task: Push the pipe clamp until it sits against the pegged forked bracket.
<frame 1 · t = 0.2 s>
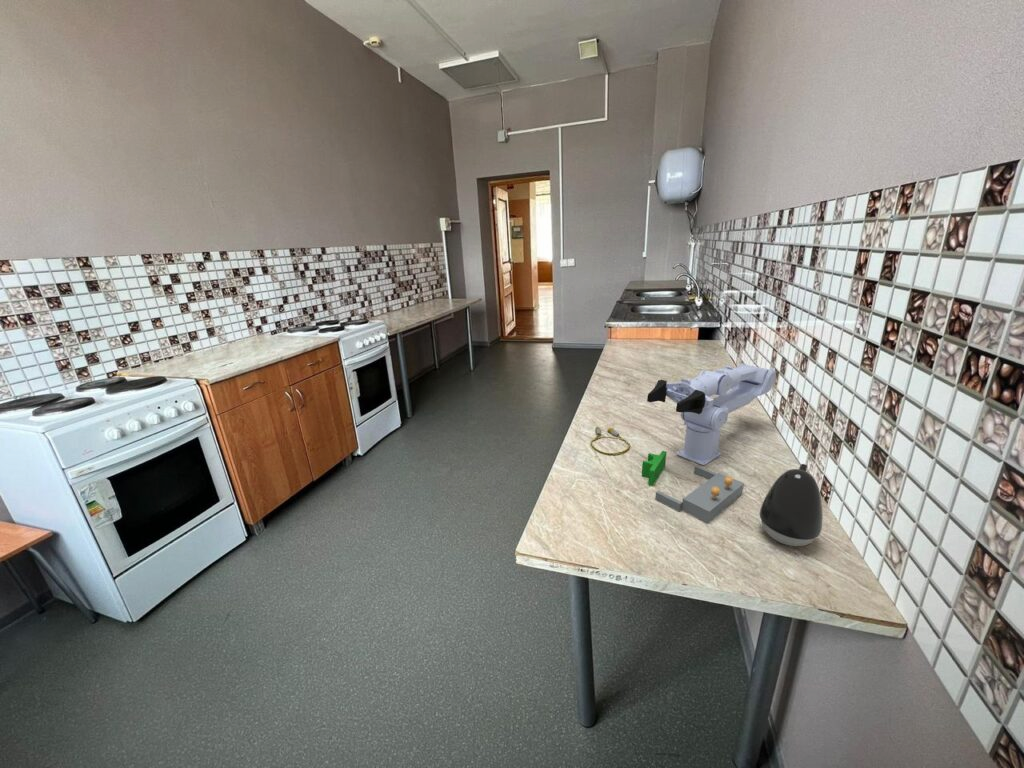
hand: (662, 402, 95), 21 cm above the countertop, tool horizontal, fingers open, 7 cm apart
pipe clamp: (652, 474, 105), on the countertop
extension cord: (610, 444, 122), on the countertop
pegged forked bracket: (712, 501, 93), on the countertop
black rounded dome: (785, 537, 82), on the countertop
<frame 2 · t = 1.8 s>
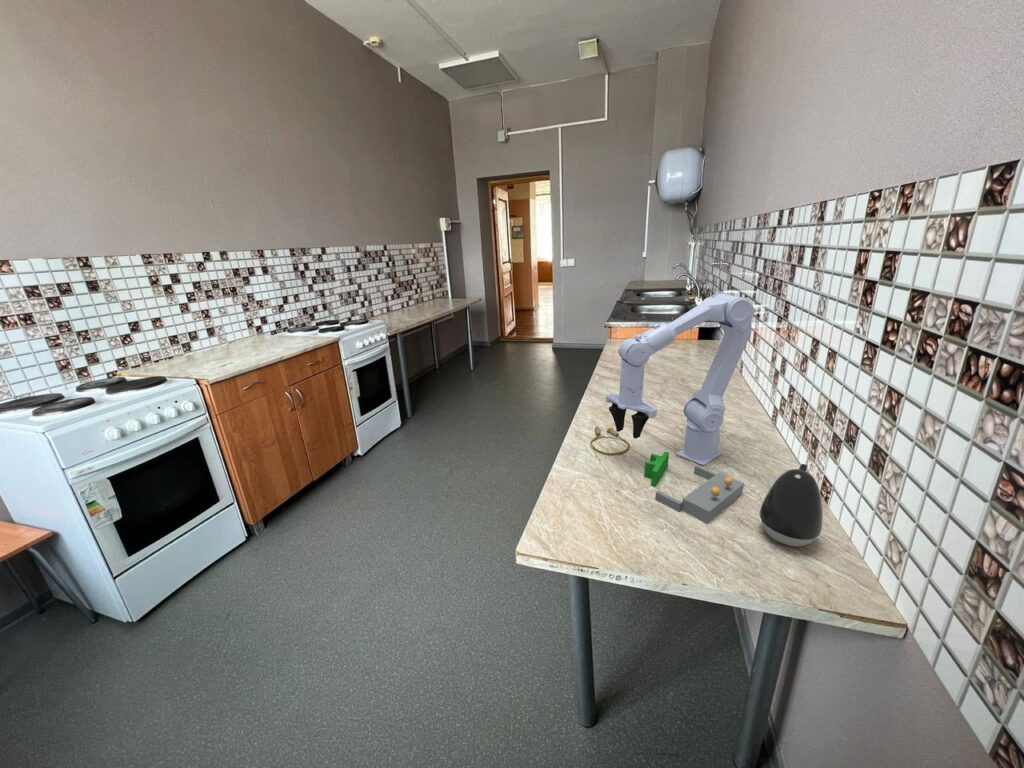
hand: (628, 433, 108), 8 cm above the countertop, tool pointing down, fingers open, 5 cm apart
nothing on the countertop moved.
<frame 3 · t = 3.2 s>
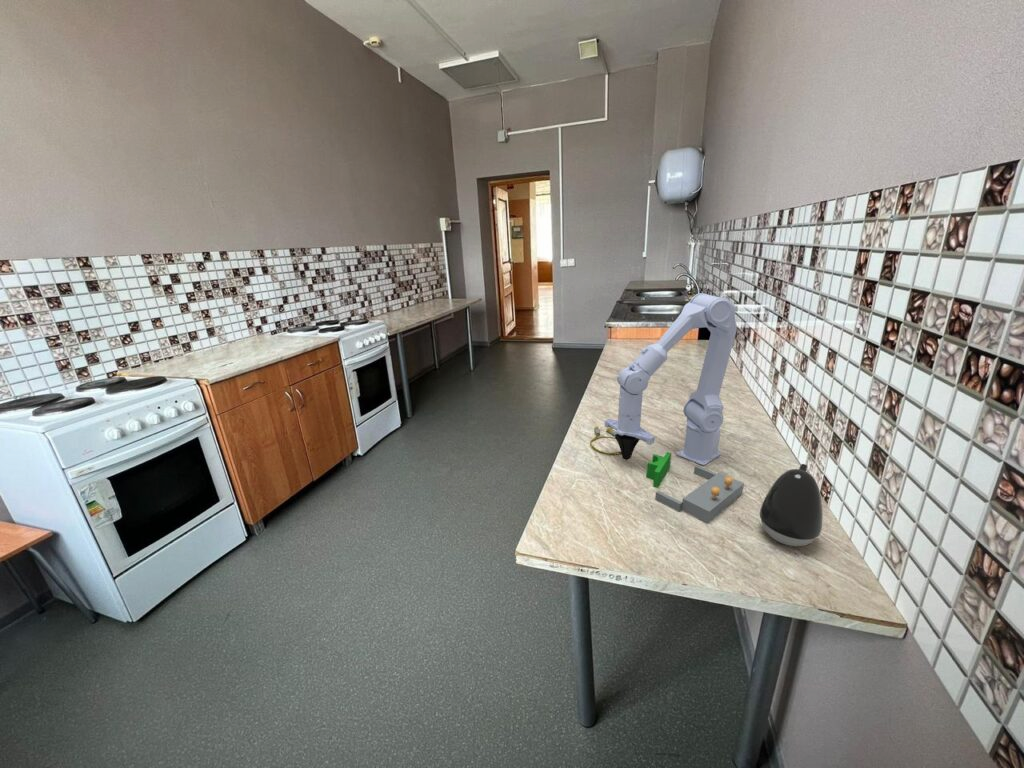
hand: (626, 458, 111), 1 cm above the countertop, tool pointing down, fingers closed
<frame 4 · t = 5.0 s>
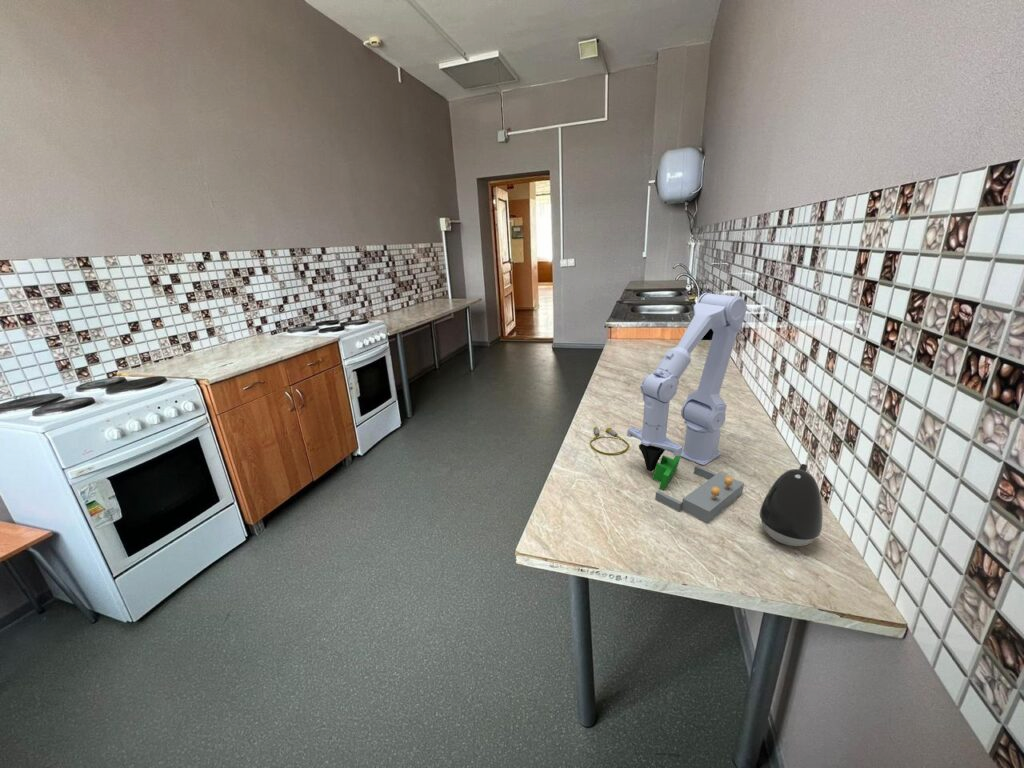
hand: (650, 469, 105), 1 cm above the countertop, tool pointing down, fingers closed
pipe clamp: (663, 477, 103), on the countertop
everything else where it was.
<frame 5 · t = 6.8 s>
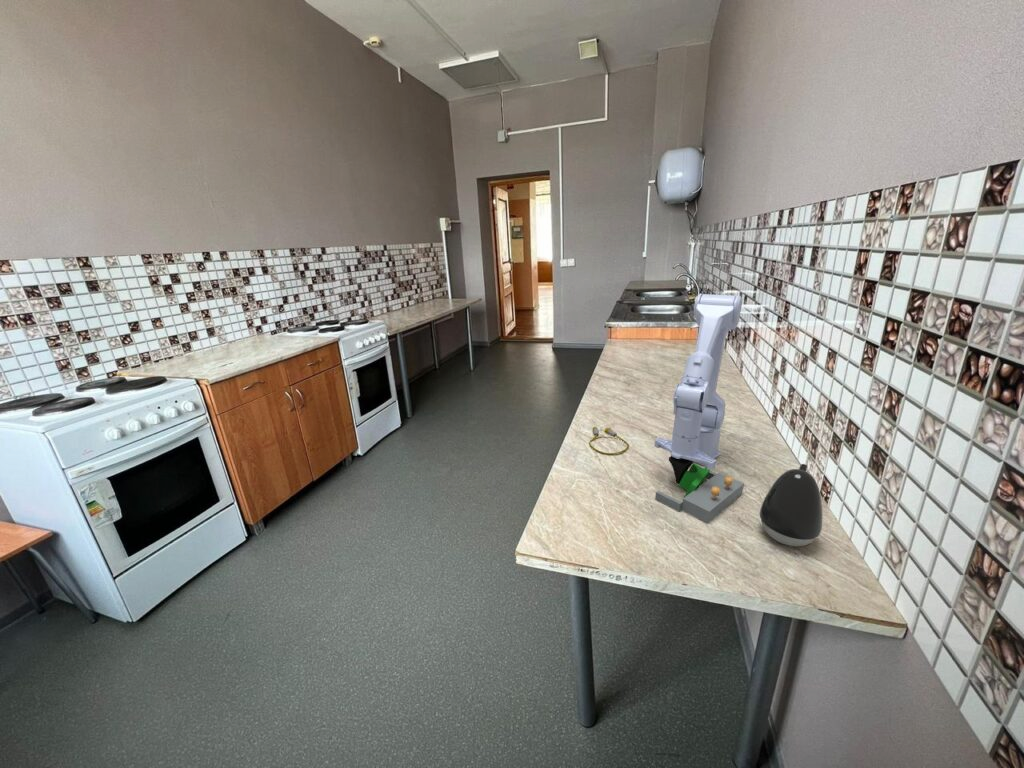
hand: (679, 482, 99), 1 cm above the countertop, tool pointing down, fingers closed, pressing on pipe clamp
pipe clamp: (689, 485, 99), on the countertop, touching gripper, pegged forked bracket
everything else where it was.
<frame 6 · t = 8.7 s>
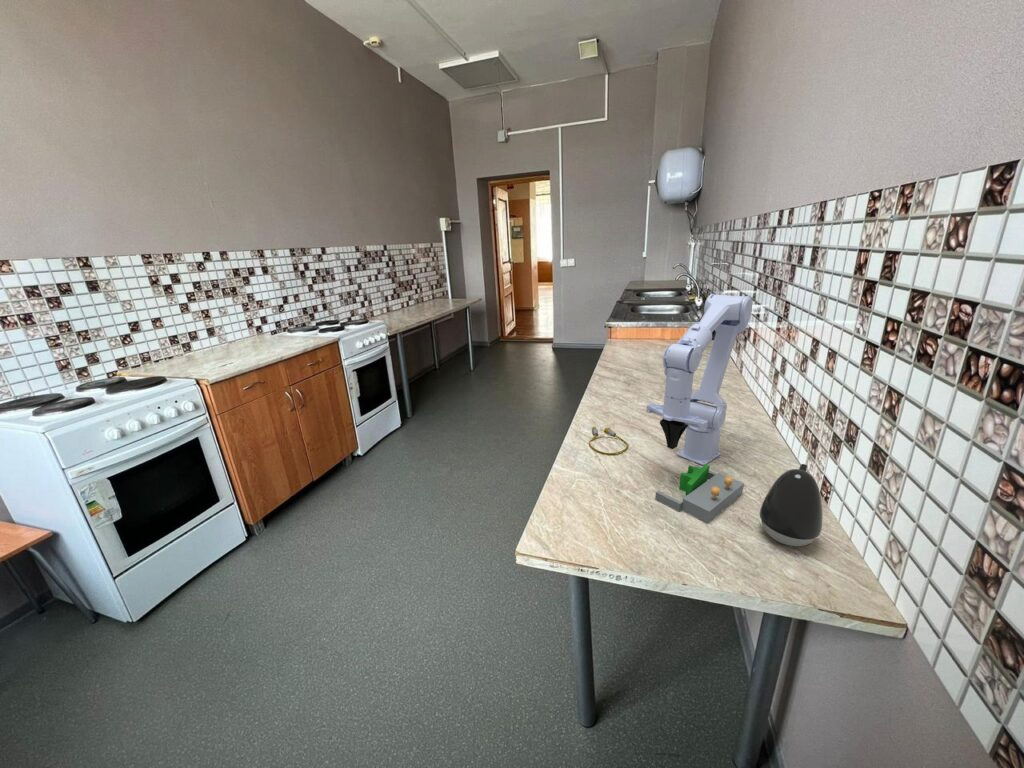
hand: (672, 447, 99), 9 cm above the countertop, tool pointing down, fingers closed
pipe clamp: (691, 488, 99), on the countertop
everything else where it was.
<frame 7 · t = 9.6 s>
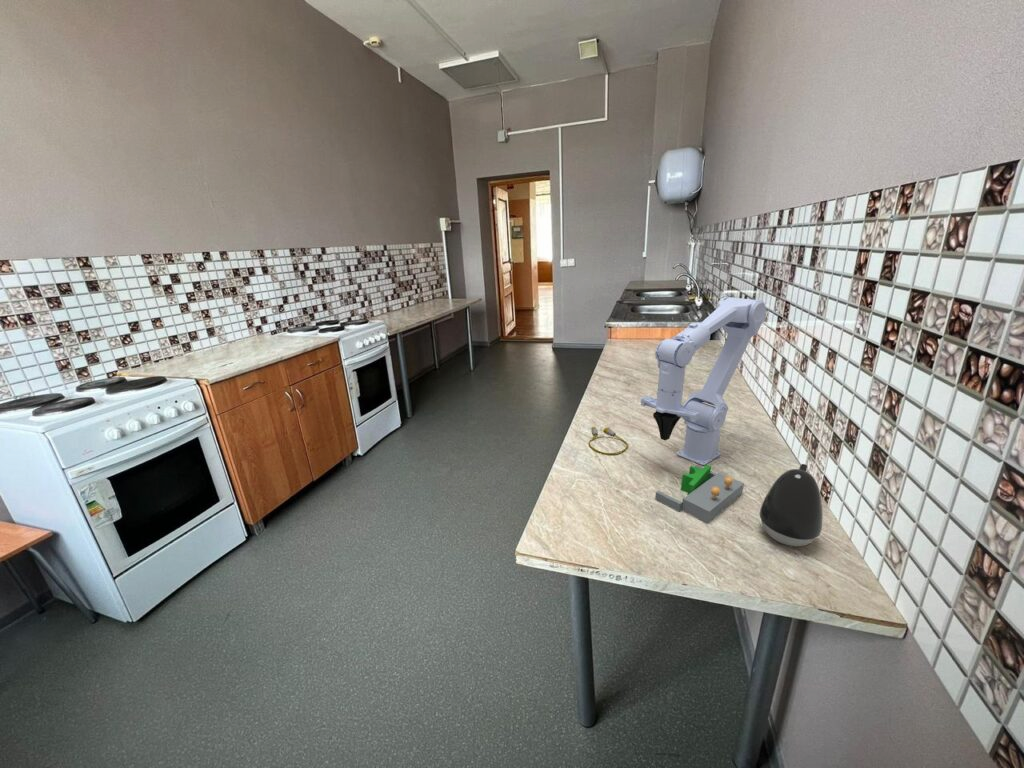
hand: (665, 438, 103), 9 cm above the countertop, tool pointing down, fingers closed
nothing on the countertop moved.
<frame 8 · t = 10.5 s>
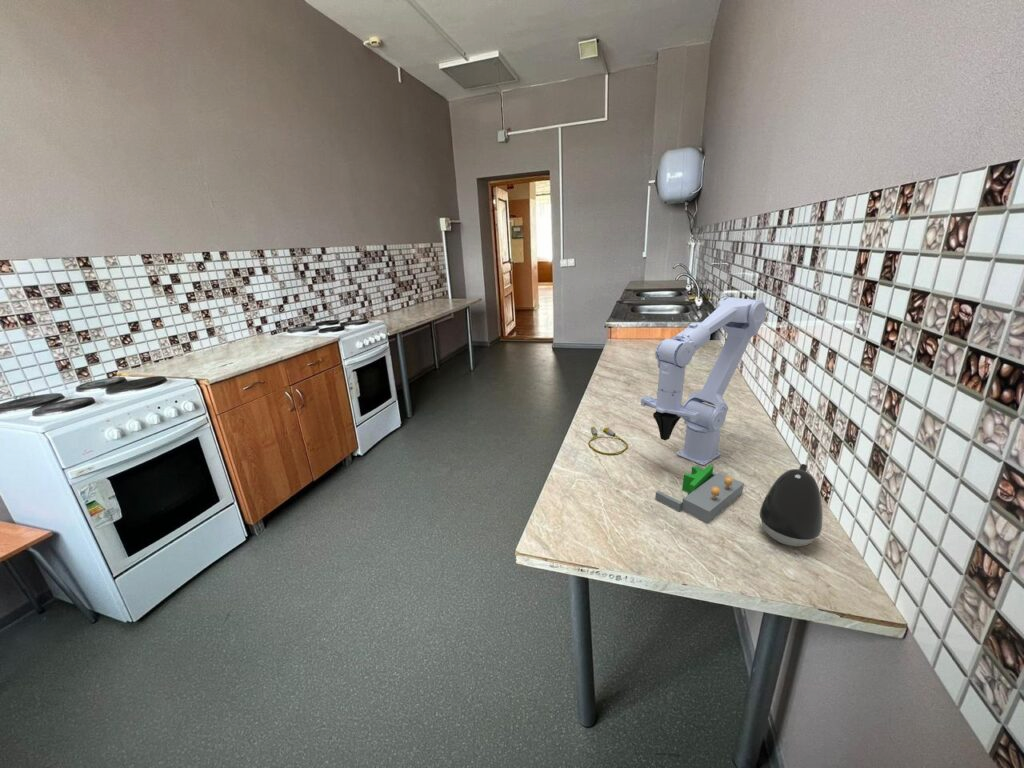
hand: (665, 438, 103), 9 cm above the countertop, tool pointing down, fingers closed
nothing on the countertop moved.
at the end: pipe clamp inside the target area on the pegged forked bracket (2.1 cm from its centre), point 0.0 cm above the pegged forked bracket's base; pipe clamp moved 10.8 cm from its start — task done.
